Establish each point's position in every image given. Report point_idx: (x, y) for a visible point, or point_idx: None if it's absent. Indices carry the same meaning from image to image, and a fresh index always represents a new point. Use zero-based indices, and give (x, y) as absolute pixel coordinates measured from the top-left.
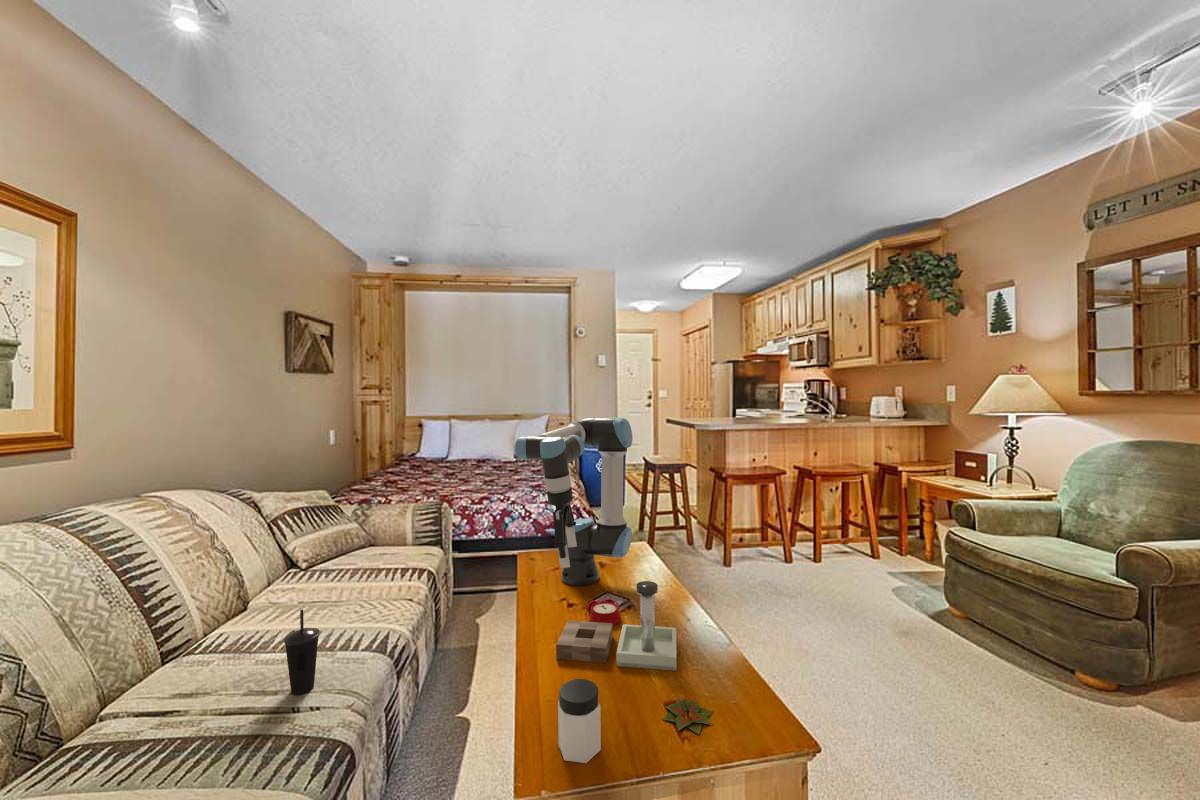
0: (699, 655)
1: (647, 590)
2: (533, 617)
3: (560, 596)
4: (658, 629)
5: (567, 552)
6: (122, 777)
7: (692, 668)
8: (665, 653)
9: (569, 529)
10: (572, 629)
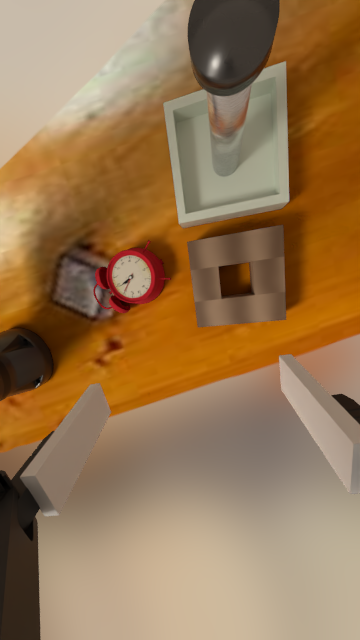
0: None
1: (278, 2)
2: (167, 386)
3: (93, 368)
4: (176, 144)
5: (333, 401)
6: None
7: None
8: None
9: (56, 482)
10: (227, 308)
